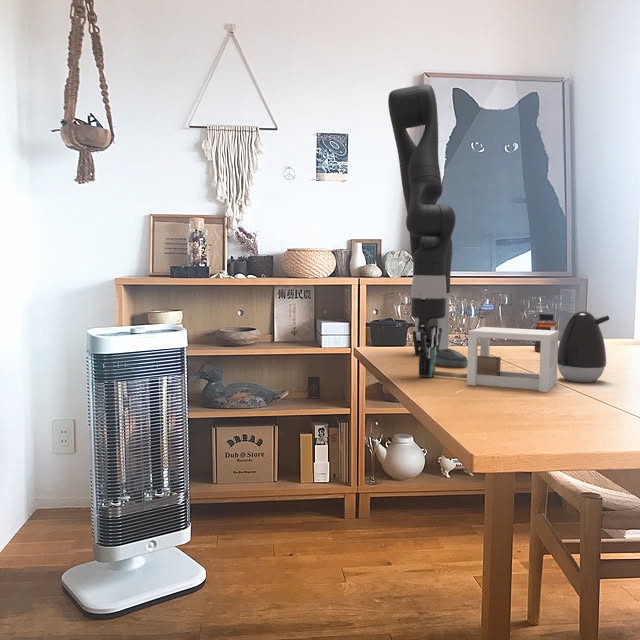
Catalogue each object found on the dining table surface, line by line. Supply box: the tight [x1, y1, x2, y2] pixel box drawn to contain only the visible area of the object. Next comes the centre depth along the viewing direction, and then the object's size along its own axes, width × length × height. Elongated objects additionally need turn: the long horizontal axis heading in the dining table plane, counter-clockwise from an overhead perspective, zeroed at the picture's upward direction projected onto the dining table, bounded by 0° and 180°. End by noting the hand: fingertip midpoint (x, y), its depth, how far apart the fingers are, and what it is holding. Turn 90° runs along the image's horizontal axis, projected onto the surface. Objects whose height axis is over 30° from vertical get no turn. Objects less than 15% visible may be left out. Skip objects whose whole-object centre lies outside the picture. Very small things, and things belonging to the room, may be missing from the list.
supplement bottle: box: [534, 312, 558, 353], centre depth 205 cm, size 6×6×11 cm
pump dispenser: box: [557, 310, 610, 383], centre depth 152 cm, size 10×10×15 cm
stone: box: [435, 348, 468, 368], centre depth 174 cm, size 11×4×10 cm
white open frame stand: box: [466, 326, 560, 393], centre depth 146 cm, size 12×16×11 cm
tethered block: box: [418, 348, 502, 379], centre depth 151 cm, size 5×17×6 cm, turn 63°
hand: (426, 373), depth 155 cm, fingers closed on tethered block, 3 cm apart
